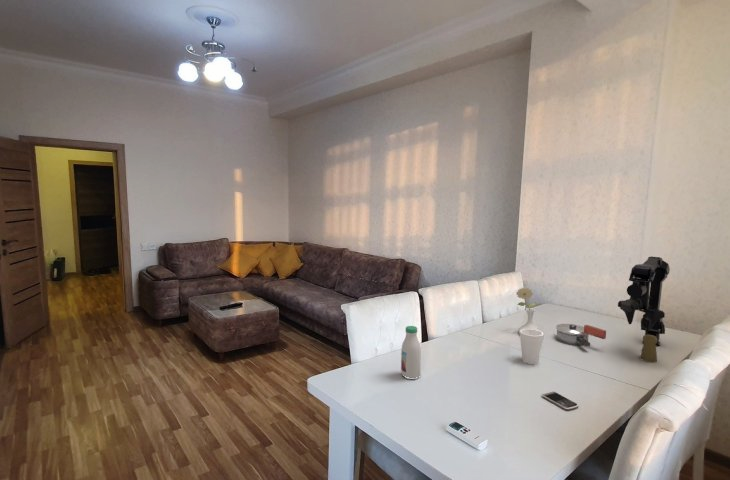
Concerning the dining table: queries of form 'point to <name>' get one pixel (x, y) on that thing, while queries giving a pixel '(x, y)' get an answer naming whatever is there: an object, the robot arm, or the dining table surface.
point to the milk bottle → (411, 354)
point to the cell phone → (560, 401)
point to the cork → (649, 348)
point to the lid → (581, 330)
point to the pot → (573, 339)
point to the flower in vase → (525, 294)
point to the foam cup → (531, 345)
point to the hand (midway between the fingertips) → (638, 327)
